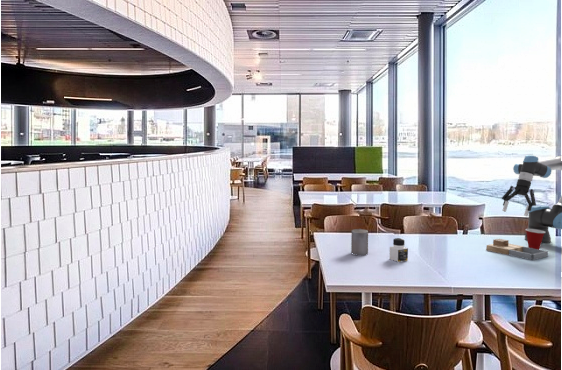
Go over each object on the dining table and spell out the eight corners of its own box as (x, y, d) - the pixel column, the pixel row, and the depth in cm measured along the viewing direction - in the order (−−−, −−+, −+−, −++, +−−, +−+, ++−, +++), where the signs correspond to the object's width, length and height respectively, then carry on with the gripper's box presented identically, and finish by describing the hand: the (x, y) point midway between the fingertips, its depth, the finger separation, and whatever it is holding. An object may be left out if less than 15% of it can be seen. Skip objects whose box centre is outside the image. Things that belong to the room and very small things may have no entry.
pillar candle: (355, 250, 271) (355, 226, 269) (370, 253, 265) (371, 228, 264) (348, 254, 263) (348, 229, 262) (363, 256, 257) (363, 230, 256)
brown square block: (499, 243, 278) (499, 238, 278) (508, 245, 273) (508, 240, 273) (493, 244, 275) (493, 239, 275) (502, 246, 270) (502, 241, 270)
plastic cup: (547, 251, 270) (548, 231, 268) (527, 250, 272) (528, 231, 271) (540, 247, 280) (541, 228, 279) (521, 246, 282) (522, 227, 281)
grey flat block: (523, 251, 270) (523, 246, 270) (547, 256, 258) (547, 251, 258) (508, 254, 262) (509, 249, 262) (532, 260, 250) (533, 254, 250)
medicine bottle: (397, 262, 245) (398, 240, 244) (389, 259, 252) (389, 238, 251) (407, 260, 249) (408, 239, 248) (398, 257, 255) (399, 236, 254)
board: (502, 246, 282) (502, 242, 282) (524, 251, 270) (524, 246, 270) (486, 250, 274) (486, 245, 273) (508, 254, 262) (508, 249, 262)
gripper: (502, 175, 283) (492, 208, 283) (542, 181, 263) (532, 216, 262) (508, 179, 288) (498, 210, 287) (548, 185, 267) (538, 219, 267)
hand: (514, 213), depth 275 cm, fingers open, 13 cm apart
